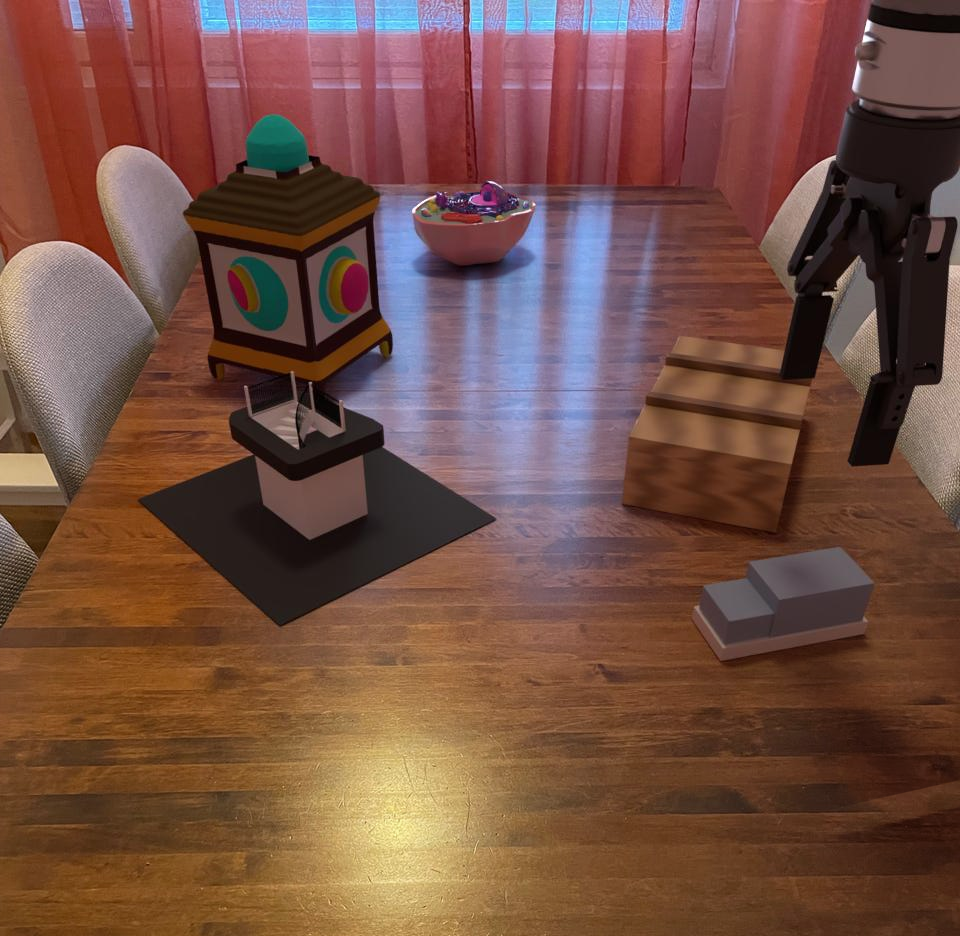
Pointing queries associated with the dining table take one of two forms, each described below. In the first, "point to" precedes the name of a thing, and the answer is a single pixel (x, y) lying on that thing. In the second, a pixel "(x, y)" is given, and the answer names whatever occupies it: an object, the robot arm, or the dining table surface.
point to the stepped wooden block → (717, 435)
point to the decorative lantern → (289, 262)
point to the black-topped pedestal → (310, 504)
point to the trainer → (785, 604)
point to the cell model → (473, 223)
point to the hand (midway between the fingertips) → (829, 417)
